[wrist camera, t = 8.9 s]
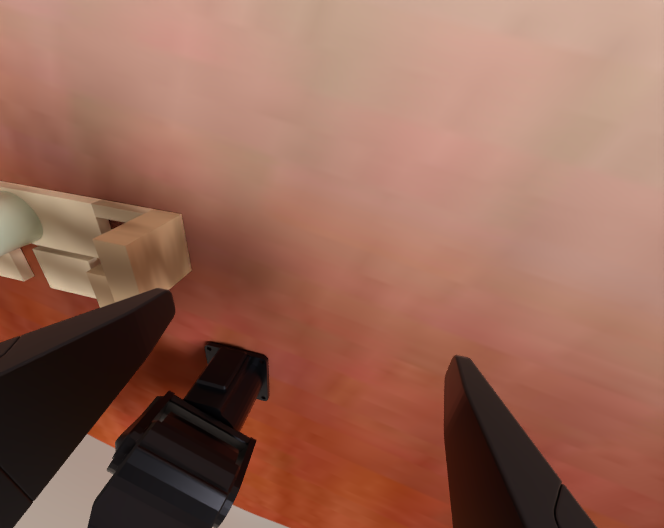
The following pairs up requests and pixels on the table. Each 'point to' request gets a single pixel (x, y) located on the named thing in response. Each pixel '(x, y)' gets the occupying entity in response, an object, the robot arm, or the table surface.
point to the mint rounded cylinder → (17, 223)
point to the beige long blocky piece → (112, 237)
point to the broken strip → (61, 272)
